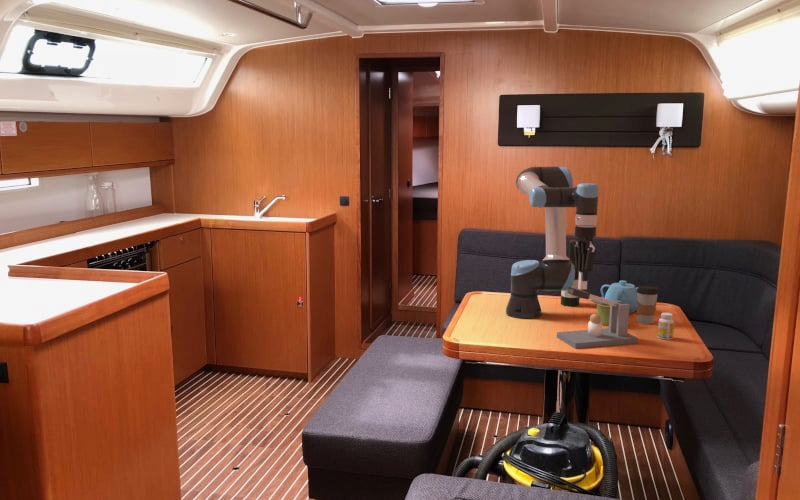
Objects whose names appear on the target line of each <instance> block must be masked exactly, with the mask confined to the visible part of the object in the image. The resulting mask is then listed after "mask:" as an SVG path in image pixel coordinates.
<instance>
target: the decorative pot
mask: <svg viewBox="0 0 800 500" xmlns="http://www.w3.org/2000/svg"><path fill="white" fill-rule="evenodd" d="M600 287H601V288H600V294H601V296H600V297H601V298H605V299H608V300H611V301H622V303H621V304H629V315H631V314H632V313H633V312H637V289H638V286H637V287H636V285H634V284H632V283H628V281H627V280H622V279H621V280H619V281H618V282H613V283H611V284H607V283H606V284H603V285H602V286H600ZM605 287H606V288H608V289H607V290H606V292H605V293H604V288H605Z"/></svg>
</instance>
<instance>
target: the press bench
mask: <svg viewBox="0 0 800 500" xmlns="http://www.w3.org/2000/svg"><path fill="white" fill-rule="evenodd" d="M615 302H619V303H622V301H615ZM629 315H630V314H629V304H618V307H615V306H611V305H610V320H609V325H608V327H607V328H603V325H602V322H600V321H601V317H600V315H599V314H598V313H597V312H596V313H592V314H591V315H590V317H589V321H588V323H587V329H581V330H571V331H558V332H556V338H557V339H559V340H561V341H563V342H564V343H566V344H567V345H569V346H570V347H572V348H574V349H586V348H587V349H588V348H598V347H606V346H608V347H610V346H619V345H621V346H622V345H632V344H639V338H638V337H637V336H635V335H633V334H631V333H629V332H628V331H629Z"/></svg>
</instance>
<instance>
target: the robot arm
mask: <svg viewBox="0 0 800 500" xmlns="http://www.w3.org/2000/svg"><path fill="white" fill-rule="evenodd" d="M515 184H516V185H515V186H516V188H517V189H518V190H519V192H521V193H522V194H525V195H527V196H528V199H529V200H528V201H529V204H530V207H532V208H538V209H540V208H544V213H545V214H544V219H545V220H544V221H545V222H544V223H545V257H544V258H543V259H542V263H540V261H538V260H536V259H526V260H525V259H524V260H520V261H517V262H515V263H513V264H512V265H511V271H510V272H511V273H510V296H509V300H508V302H507V305H506V306H505V307H506V308H505V309H506V310H505V311H506V312H505V314H506V315H507V316H509V317H511V318H512V317H513V318H517V319H536V318H540V317H541V316H542V308H541V304H540V300H539V292H541V291H542V292H543V291H544V292H545V291H547V292H549V291H550V292H551V291H552V292H557V291H558V292H561V291H564V290H569V287H572V285H573V282H574V277H575V269H574V268H575V267H576V269H578V271H579V281H578V289H580V290H582V291H584V290H588V277H589V272H592V271H593V267H594V261H595V255H596V252H597V250H598V247H597V246H594V245H593V244H594V241H593V240H594V238H596V237H597V227H596V226H597V224H598V206H599V205H598V204H599V203H598V202H599V194H600V192H599V185H598V184H597V183H578V184H577V186H574V180H573V175H572V172H571V170H570V168H568V167H566V166H559V165H558V166H532V167H531V166H530V167H527V168H525V169H523V170H522V171H521V172H519V174H518V175H517V176H516V179H515ZM566 208H575V218H574V219H575V221H574V222H575V225H576V226H574V236H575V237H577V239H576V243H573V246H574V254H575V267H574V265H573V264H571V263H570V259H569V258H568V255H567V230H566V229H567V228H566V226H567V225H566V224H567V223H566V220H567V219H566Z"/></svg>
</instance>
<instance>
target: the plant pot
mask: <svg viewBox="0 0 800 500" xmlns="http://www.w3.org/2000/svg"><path fill="white" fill-rule="evenodd" d="M596 308H597V314H599V315H600V317H601V321H600V322H602V326H607V327H609V320H610V305H608V304H605V303H602V305H599V304H596Z"/></svg>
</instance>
